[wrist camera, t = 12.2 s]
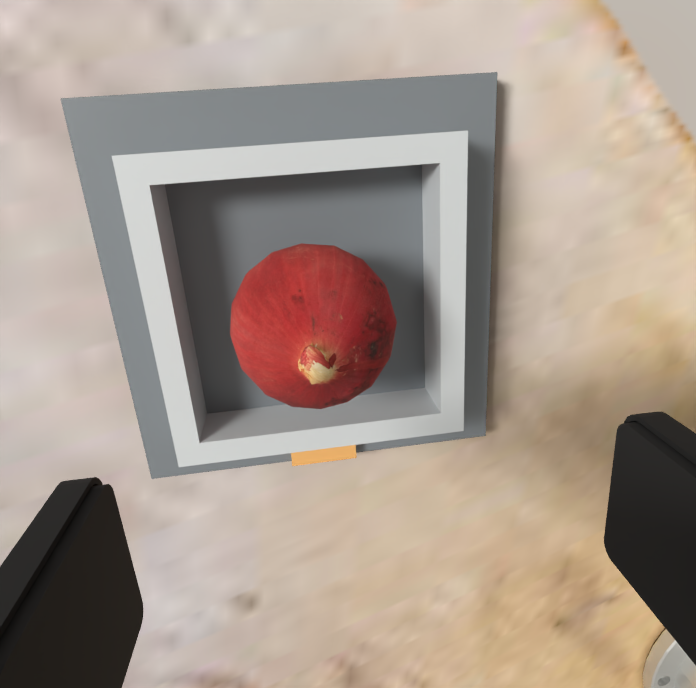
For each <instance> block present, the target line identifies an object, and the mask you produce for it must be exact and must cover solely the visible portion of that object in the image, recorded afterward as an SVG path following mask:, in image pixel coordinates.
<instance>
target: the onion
mask: <svg viewBox="0 0 696 688" xmlns="http://www.w3.org/2000/svg"><path fill="white" fill-rule="evenodd" d="M396 325H397V321H396V317H395V314H394V310H393V307H392V304H391V300H390V297H389V293H388V290H387V287H386V285H385V283H384V282H383V281H382V280H381V279H380V278H379V277H378V276H377V274H376V273H375V272H374V271H373V270H372V269H371V268H370V267H369V266H368V265H367V263H366V262H365V261H364V260H363V259H361V258H359V257H357V256H355V255H353V254H351V253H349V252H347V251H344V250H342V249H340V248H338V247H336V246H334V245H317V244H303V243H301V244H297V245H294V246H291V247H288V248H284V249H281V250H278V251H274V252H272V253H270V254H269V255H268V256H267V257H266V258H265V259H263V260H262V261H261V262H259V263H258V264H257V265H256V266H254V267H253V268H252V269H251V270H249V271H248V273H247V274H246V275H245V277H244V279H243V281H242V283H241V285H240V287H239V289H238V291H237V294H236V296H235V298H234V300H233V302H232V307H231V325H230V335H231V339H232V342H233V345H234V348H235V351H236V354H237V357H238V360H239V363H240V366H241V369H242V370H243V371H244V372H245V373H246V374H247V375H248V376H249V377H250V378H251V379H252V380H253V382H254V383H255V384H256V385H257V386H258V387H259V388H260V389H261V390H262V391H263V392H264V394H265V395H267V396H269V397H272V398H274V399H276V400H278V401H280V402H283V403H285V404H287V405H289V406H291V407H300V408H312V409H323V408H327V407H331V406H335V405H338V404H342V403H346V402H348V401H350V400H351V399H353V398H355V397H356V396H358V395H359V394H361V393H362V392H364V391H365V390H367V389H368V388H370V387H371V386H372V385H373V384H374V382H375V380H376V379H377V377H378V376H379V374H380V373H381V371H382V370H383V368H384V367H385V365H386V363H387V362H388V360H389V358H390V356H391V352H392V347H393V341H394V336H395V330H396Z"/></svg>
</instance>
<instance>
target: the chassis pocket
mask: <svg viewBox="0 0 696 688" xmlns="http://www.w3.org/2000/svg"><path fill="white" fill-rule="evenodd" d="M496 97H497V72H492V73H476V74H459V75H443V76H426V77H409V78H393V79H376V80H360V81H343V82H327V83H310V84H293V85H277V86H260V87H244V88H227V89H210V90H194V91H177V92H161V93H144V94H127V95H111V96H94V97H78V98H61V102H62V107H63V111H64V115H65V119H66V123H67V127H68V132H69V136H70V140H71V144H72V148H73V152H74V157H75V161H76V165H77V169H78V173H79V177H80V182H81V186H82V190H83V194H84V198H85V203H86V207H87V211H88V215H89V219H90V223H91V228H92V232H93V236H94V240H95V244H96V248H97V253H98V257H99V261H100V265H101V269H102V273H103V278H104V282H105V286H106V290H107V294H108V298H109V303H110V307H111V311H112V315H113V319H114V323H115V328H116V332H117V336H118V340H119V344H120V348H121V353H122V357H123V361H124V365H125V369H126V374H127V378H128V382H129V386H130V390H131V394H132V399H133V403H134V407H135V411H136V415H137V419H138V424H139V428H140V432H141V436H142V440H143V444H144V449H145V453H146V457H147V461H148V465H149V469H150V474H151V478H152V479H154V478H162V477H170V476H178V475H185V474H193V473H201V472H209V471H216V470H224V469H232V468H240V467H247V466H255V465H263V464H271V463H278V462H286V461H292V466H297V465H304V464H312V463H320V462H328V461H335V460H343V459H351V458H356V452H363V451H371V450H379V449H387V448H394V447H402V446H410V445H418V444H425V443H433V442H441V441H449V440H456V439H464V438H472V437H480V436H486V405H487V375H488V344H489V313H490V282H491V251H492V220H493V189H494V159H495V128H496ZM301 243H303V244H317V245H334V246H336V247H338V248H340V249H342V250H344V251H347V252H349V253H351V254H353V255H355V256H357V257H359V258H361V259H363V260H364V261H365V262H366V263H367V265H368V266H369V267H370V268H371V269H372V270H373V271H374V272H375V273H376V274H377V276H378V277H379V278H380V279H381V280H382V281H383V282H384V283H385V285H386V287H387V290H388V293H389V297H390V300H391V304H392V307H393V310H394V314H395V317H396V321H397V325H396V330H395V336H394V341H393V347H392V352H391V356H390V358H389V360H388V362H387V363H386V365H385V367H384V368H383V370H382V371H381V373H380V374H379V376H378V377H377V379H376V380H375V382H374V384H373V385H372V386H371V387H370V388H368V389H367V390H365V391H364V392H362V393H361V394H359V395H358V396H356V397H355V398H353V399H351V400H350V401H348V402H346V403H342V404H338V405H335V406H331V407H327V408H323V409H312V408H300V407H291V406H289V405H287V404H285V403H283V402H280V401H278V400H276V399H274V398H272V397H269V396H267V395H265V394H264V392H263V391H262V390H261V389H260V388H259V387H258V386H257V385H256V384H255V383H254V382H253V380H252V379H251V378H250V377H249V376H248V375H247V374H246V373H245V372H244V371H243V370H242V369H241V366H240V363H239V360H238V357H237V354H236V351H235V348H234V345H233V342H232V339H231V335H230V325H231V307H232V302H233V300H234V298H235V296H236V294H237V291H238V289H239V287H240V285H241V283H242V281H243V279H244V277H245V275H246V274H247V273H248V271H249V270H251V269H252V268H253V267H254V266H256V265H257V264H258V263H259V262H261V261H262V260H263V259H265V258H266V257H267V256H268V255H269V254H270V253H272V252H274V251H278V250H281V249H284V248H288V247H291V246H294V245H297V244H301Z"/></svg>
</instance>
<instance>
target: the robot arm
mask: <svg viewBox="0 0 696 688" xmlns="http://www.w3.org/2000/svg"><path fill="white" fill-rule="evenodd" d="M604 544H605V548H606V552H607V554H608V556H609V558H610V559H611V561H612V562H613V563H614V565H615V566H616V567H617V568H618V569H619V571H620V572H621V573H622V574H623V576H624V577H625V578H626V579H627V581H628V582H629V583H630V584H631V586H632V587H633V588H634V589H635V591H636V592H637V593H638V594H639V596H640V597H641V598H642V599H643V601H644V602H645V603H646V604H647V606H648V607H649V608H650V609H651V611H652V612H653V613H654V614H655V616H656V617H657V618H658V619H659V621H660V622H661V623H662V624H663V626H664V627H665V628H666V629H665V630H664V631H663V632H662V634H661V635H660V637H659V638H658V639H657V641H656V642H655V644H654V645H653V647H652V649H651V651H650V653H649V655H648V657H647V659H646V663H645V667H644V671H643V688H696V434H695V433H694V432H692V431H691V430H690V429H688V428H687V427H685V426H684V425H682V424H681V423H679V422H678V421H676V420H675V419H673V418H672V417H670V416H669V415H667V414H665V413H663V412H652V413H643V414H635V415H630V416H628V417H627V418H626V420H625V422H624V424H621V425H619V427H618V429H617V434H616V443H615V451H614V460H613V468H612V476H611V485H610V493H609V502H608V510H607V518H606V527H605V535H604ZM142 619H143V602H142V598H141V594H140V590H139V586H138V583H137V579H136V575H135V571H134V567H133V563H132V560H131V556H130V552H129V548H128V544H127V540H126V537H125V533H124V529H123V525H122V521H121V518H120V514H119V510H118V506H117V502H116V498H115V495H114V491H113V488H112V487H111V485H109V484H106V485H102V482H101V481H100V479H98V478H96V477H94V478H86V479H77V480H69V481H63V482H61V483H60V484H59V485H58V486H57V487H56V488H55V490H54V491H53V493H52V494H51V496H50V497H49V498H48V500H47V501H46V503H45V504H44V505H43V507H42V508H41V510H40V511H39V513H38V514H37V515H36V517H35V518H34V520H33V521H32V522H31V524H30V525H29V527H28V528H27V530H26V531H25V532H24V534H23V535H22V537H21V538H20V539H19V541H18V542H17V544H16V545H15V547H14V548H13V549H12V551H11V552H10V554H9V555H8V556H7V558H6V559H5V561H4V562H3V564H2V565H1V566H0V688H122V685H123V682H124V678H125V675H126V672H127V669H128V666H129V663H130V659H131V656H132V653H133V650H134V647H135V644H136V640H137V637H138V634H139V631H140V628H141V624H142Z"/></svg>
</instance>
